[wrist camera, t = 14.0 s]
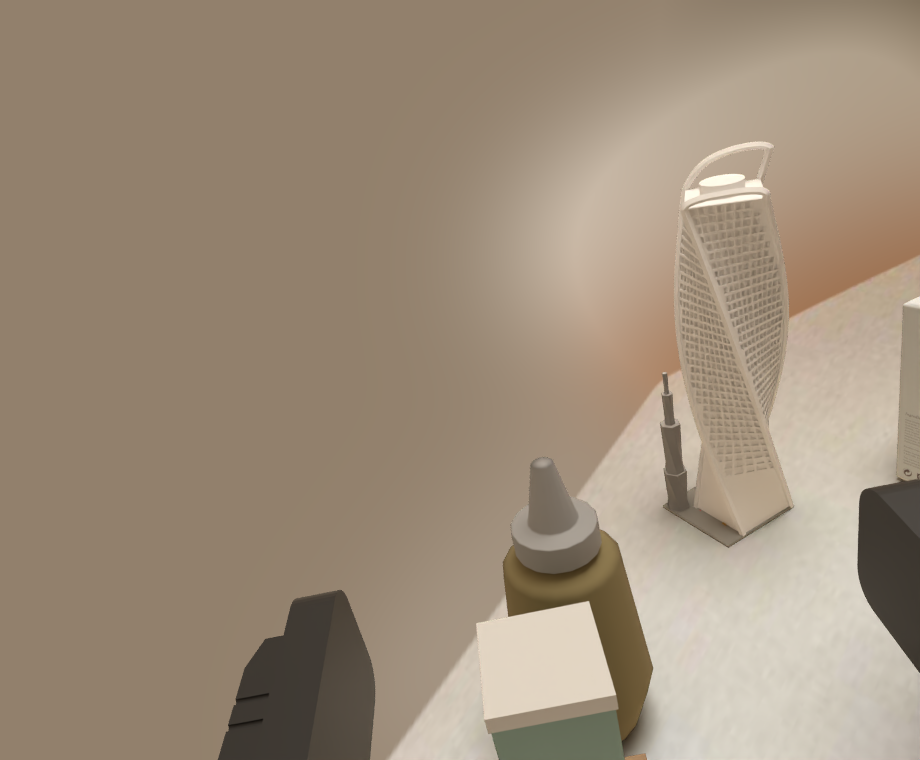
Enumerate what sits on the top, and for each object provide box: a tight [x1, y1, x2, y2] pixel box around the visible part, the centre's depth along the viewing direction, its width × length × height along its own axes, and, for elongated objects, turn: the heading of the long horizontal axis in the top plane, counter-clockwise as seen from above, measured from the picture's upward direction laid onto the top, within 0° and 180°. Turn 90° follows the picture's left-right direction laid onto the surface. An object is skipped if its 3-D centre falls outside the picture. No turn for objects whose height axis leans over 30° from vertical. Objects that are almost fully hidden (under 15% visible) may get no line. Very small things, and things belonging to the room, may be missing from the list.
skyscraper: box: [660, 142, 794, 548], centre depth 52 cm, size 8×8×28 cm
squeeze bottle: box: [503, 457, 653, 741], centre depth 40 cm, size 8×8×18 cm
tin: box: [476, 601, 625, 760], centre depth 33 cm, size 5×5×11 cm
